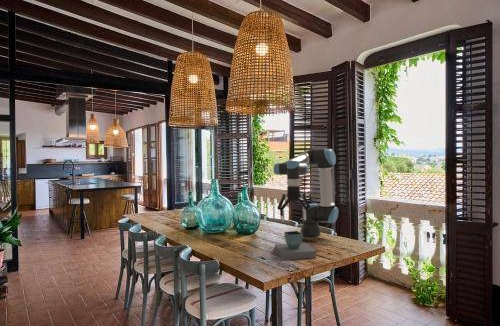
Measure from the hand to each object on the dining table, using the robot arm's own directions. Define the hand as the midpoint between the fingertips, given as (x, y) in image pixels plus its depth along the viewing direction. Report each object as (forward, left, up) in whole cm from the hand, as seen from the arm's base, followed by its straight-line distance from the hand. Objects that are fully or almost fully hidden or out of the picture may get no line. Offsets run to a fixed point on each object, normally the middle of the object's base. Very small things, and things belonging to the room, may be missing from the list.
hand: (294, 220), depth 206 cm
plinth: (0, 0, -20) cm, 20 cm away
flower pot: (+1, 0, -17) cm, 17 cm away
